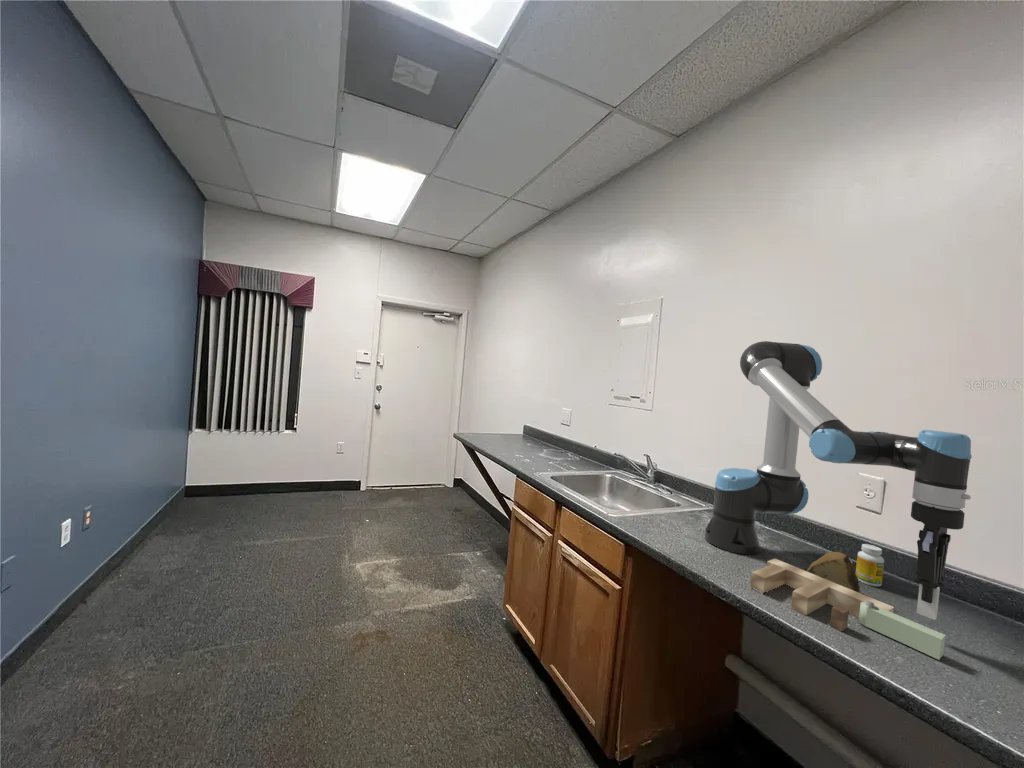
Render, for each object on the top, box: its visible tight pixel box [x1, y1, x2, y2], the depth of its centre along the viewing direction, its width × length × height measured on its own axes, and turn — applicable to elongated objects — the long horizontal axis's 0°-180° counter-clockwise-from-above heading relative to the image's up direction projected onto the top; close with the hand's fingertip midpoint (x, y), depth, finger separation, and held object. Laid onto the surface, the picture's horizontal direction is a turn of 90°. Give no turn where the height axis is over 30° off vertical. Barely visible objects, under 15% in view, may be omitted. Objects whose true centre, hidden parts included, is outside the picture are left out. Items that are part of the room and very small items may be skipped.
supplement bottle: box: [855, 543, 885, 587], centre depth 106 cm, size 5×5×10 cm
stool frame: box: [749, 557, 895, 632], centre depth 93 cm, size 24×15×4 cm, turn 32°
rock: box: [806, 551, 861, 593], centre depth 103 cm, size 11×9×10 cm
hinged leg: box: [858, 601, 946, 661], centre depth 81 cm, size 12×3×5 cm, turn 32°
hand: (926, 615), depth 83 cm, fingers closed
